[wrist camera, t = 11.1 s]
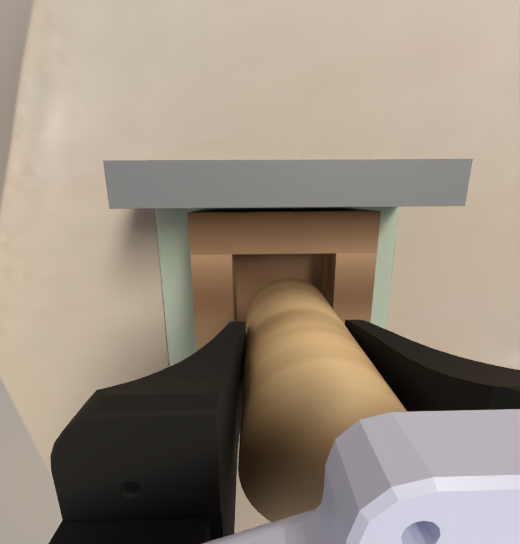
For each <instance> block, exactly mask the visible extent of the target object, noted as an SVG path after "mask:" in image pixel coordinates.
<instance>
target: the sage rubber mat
mask: <svg viewBox="0 0 520 544" xmlns="http://www.w3.org/2000/svg"><path fill="white" fill-rule="evenodd" d="M262 209H363V210H374V211H381V216H380V227H379V237H378V248H377V259H376V269H375V280H374V290H373V301H372V312H371V322H370V323H372V324H375V325H377V326H379V327H381V328H384V329H386V325H387V316H388V307H389V298H390V288H391V279H392V270H393V261H394V252H395V243H396V233H397V224H398V215H399V206H398V207H266V208H155V215H156V226H157V237H158V247H159V258H160V268H161V279H162V290H163V300H164V311H165V322H166V332H167V343H168V354H169V364H170V366H172V365H174V364H176V363H178V362H180V361H182V360H184V359H186V358H187V357H189V356H191V355H192V354H194V353H195V352H197V347H196V332H195V317H194V303H193V288H192V273H191V258H190V243H189V228H188V212H193V211H198V210H262Z"/></svg>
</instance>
